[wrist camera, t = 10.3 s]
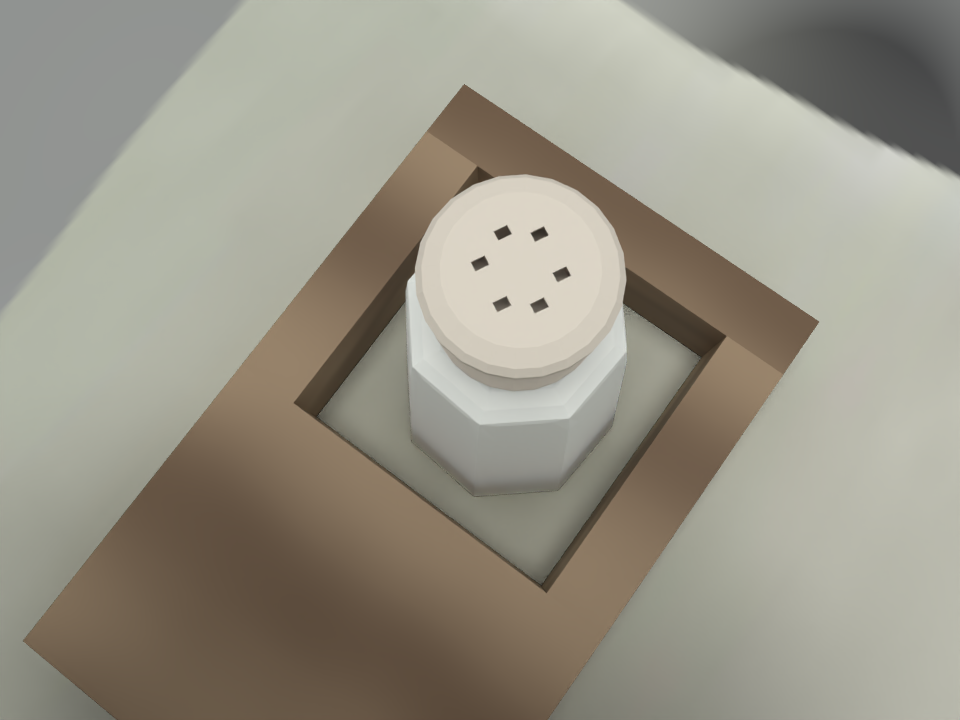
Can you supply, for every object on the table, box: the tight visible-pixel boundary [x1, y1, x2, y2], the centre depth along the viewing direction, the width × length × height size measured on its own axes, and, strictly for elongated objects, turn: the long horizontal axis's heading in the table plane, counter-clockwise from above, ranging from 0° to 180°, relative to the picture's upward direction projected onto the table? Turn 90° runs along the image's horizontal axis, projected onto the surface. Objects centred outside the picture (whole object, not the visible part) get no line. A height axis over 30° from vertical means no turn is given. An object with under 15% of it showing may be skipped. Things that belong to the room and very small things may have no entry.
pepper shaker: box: [406, 174, 627, 496], centre depth 17 cm, size 5×5×11 cm
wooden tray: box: [23, 84, 819, 720], centre depth 21 cm, size 16×10×2 cm, turn 144°
